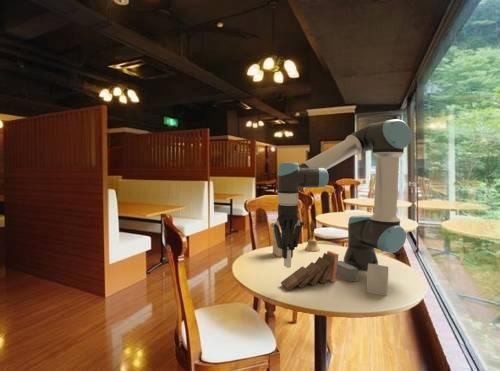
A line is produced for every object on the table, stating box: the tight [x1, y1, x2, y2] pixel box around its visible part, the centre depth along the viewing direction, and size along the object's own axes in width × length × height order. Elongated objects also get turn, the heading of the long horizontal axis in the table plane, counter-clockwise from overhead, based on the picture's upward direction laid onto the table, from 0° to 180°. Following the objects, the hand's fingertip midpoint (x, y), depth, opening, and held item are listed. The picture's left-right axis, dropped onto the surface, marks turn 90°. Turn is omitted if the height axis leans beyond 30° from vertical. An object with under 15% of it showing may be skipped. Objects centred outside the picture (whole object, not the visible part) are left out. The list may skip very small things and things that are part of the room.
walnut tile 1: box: [280, 265, 311, 291], centre depth 109 cm, size 2×5×11 cm
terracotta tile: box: [326, 250, 339, 283], centre depth 116 cm, size 2×5×11 cm, turn 24°
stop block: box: [336, 260, 359, 283], centre depth 119 cm, size 4×10×5 cm, turn 24°
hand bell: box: [304, 220, 321, 253], centre depth 158 cm, size 8×8×16 cm
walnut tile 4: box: [317, 252, 335, 285], centre depth 115 cm, size 2×5×11 cm, turn 25°
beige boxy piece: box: [365, 263, 389, 296], centre depth 105 cm, size 4×7×10 cm, turn 58°
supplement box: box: [272, 228, 283, 258], centre depth 148 cm, size 8×5×13 cm, turn 17°
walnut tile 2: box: [296, 261, 321, 289], centre depth 111 cm, size 2×5×11 cm
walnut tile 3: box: [307, 256, 329, 287], centre depth 113 cm, size 2×5×11 cm
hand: (287, 266), depth 108 cm, fingers closed
